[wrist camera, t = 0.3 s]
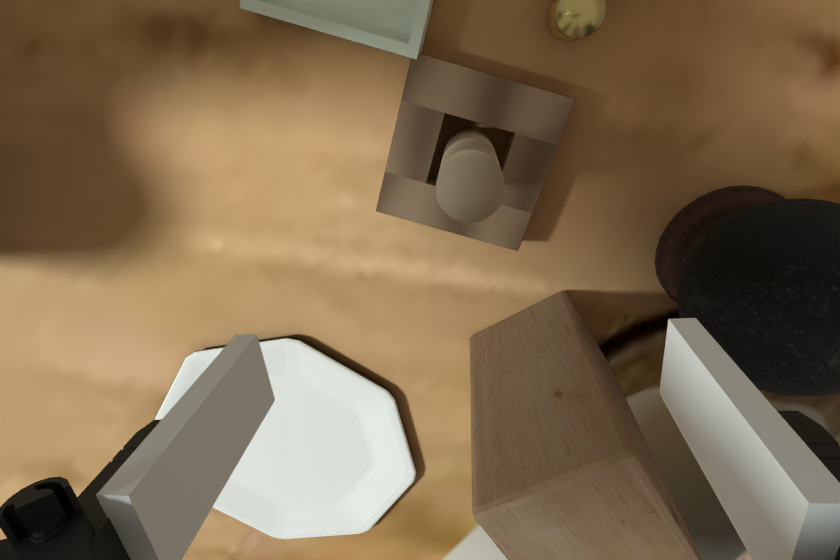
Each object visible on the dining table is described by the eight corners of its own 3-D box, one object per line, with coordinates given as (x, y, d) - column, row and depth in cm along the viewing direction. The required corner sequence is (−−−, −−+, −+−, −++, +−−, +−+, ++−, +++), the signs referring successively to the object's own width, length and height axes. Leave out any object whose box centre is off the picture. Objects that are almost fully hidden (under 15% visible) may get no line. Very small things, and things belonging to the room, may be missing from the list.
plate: (127, 355, 51) (118, 363, 49) (375, 318, 46) (373, 326, 45) (223, 534, 61) (218, 544, 60) (433, 518, 57) (432, 529, 55)
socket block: (380, 202, 41) (375, 211, 38) (415, 52, 36) (412, 52, 33) (515, 240, 41) (518, 251, 39) (568, 97, 36) (575, 99, 34)
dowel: (438, 170, 39) (427, 212, 28) (452, 121, 37) (446, 145, 27) (485, 183, 39) (492, 230, 28) (500, 135, 38) (514, 165, 27)
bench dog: (541, 33, 34) (550, 30, 31) (556, -14, 33) (568, -23, 30) (580, 45, 34) (594, 43, 31) (598, -2, 33) (614, -9, 30)
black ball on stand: (742, 341, 43) (868, 469, 30) (612, 287, 42) (682, 394, 29) (851, 212, 38) (1067, 297, 24) (705, 146, 37) (846, 196, 23)
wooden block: (564, 287, 43) (637, 454, 24) (611, 368, 46) (707, 570, 27) (467, 335, 45) (468, 517, 27) (518, 408, 49) (549, 615, 30)
